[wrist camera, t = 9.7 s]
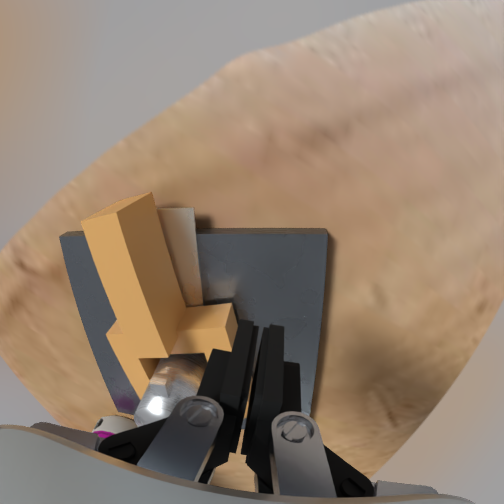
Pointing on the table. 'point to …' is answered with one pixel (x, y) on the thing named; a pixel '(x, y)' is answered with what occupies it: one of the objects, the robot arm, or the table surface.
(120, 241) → the tan wooden bracket
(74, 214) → the table surface
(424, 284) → the table surface
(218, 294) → the base plate
